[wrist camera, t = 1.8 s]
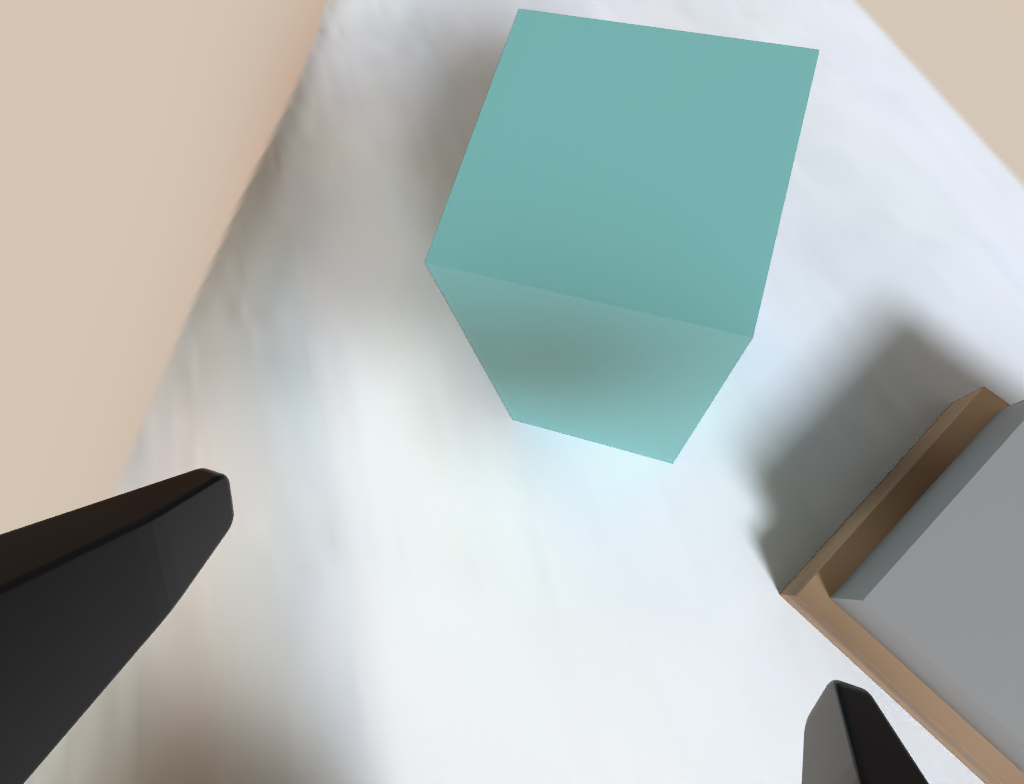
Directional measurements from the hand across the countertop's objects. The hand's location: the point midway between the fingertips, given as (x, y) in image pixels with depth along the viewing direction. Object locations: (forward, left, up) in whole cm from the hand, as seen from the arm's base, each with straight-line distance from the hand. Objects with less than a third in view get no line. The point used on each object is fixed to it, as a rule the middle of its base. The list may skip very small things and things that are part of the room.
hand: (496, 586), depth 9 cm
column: (+8, +2, -14) cm, 16 cm away
